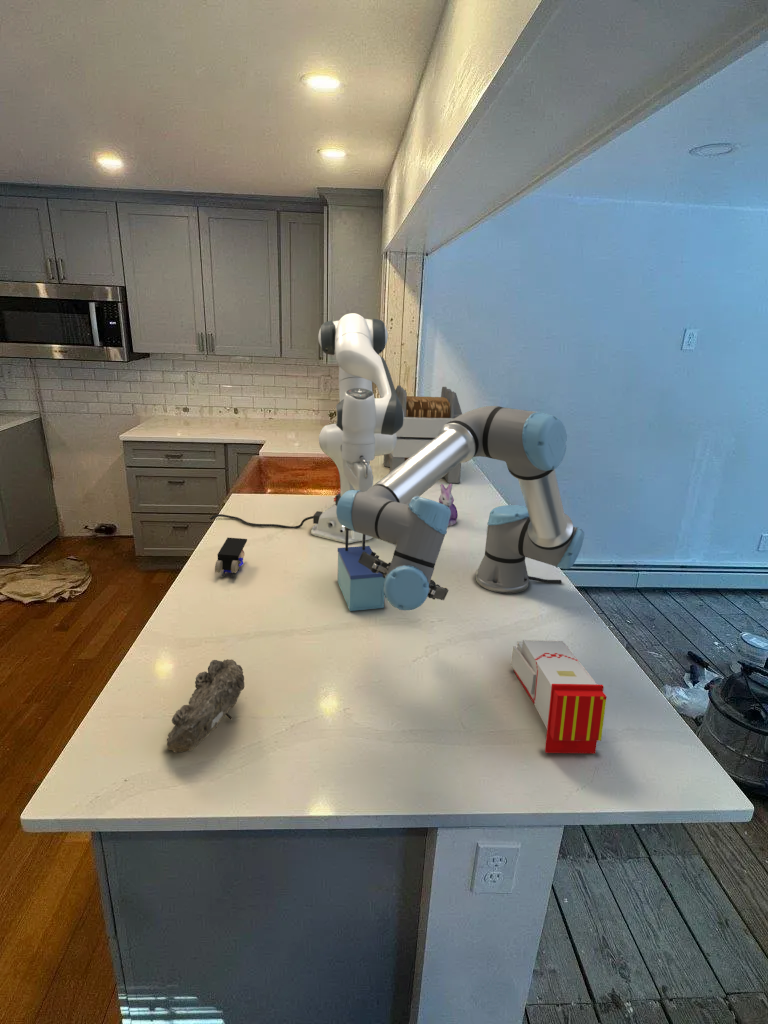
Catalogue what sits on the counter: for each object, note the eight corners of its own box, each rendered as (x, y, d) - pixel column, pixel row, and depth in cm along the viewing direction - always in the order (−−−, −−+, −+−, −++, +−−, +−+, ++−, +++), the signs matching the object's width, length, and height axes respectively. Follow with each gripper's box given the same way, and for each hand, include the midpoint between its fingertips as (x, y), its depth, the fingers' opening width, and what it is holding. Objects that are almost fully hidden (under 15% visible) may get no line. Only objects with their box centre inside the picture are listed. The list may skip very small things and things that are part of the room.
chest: (337, 581, 163) (338, 552, 160) (368, 579, 166) (369, 550, 163) (349, 611, 148) (350, 579, 145) (384, 607, 150) (385, 576, 147)
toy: (559, 623, 127) (616, 692, 98) (553, 678, 130) (607, 761, 101) (505, 622, 127) (547, 691, 98) (501, 677, 130) (540, 760, 100)
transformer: (382, 463, 289) (386, 382, 275) (445, 464, 293) (451, 384, 279) (390, 482, 257) (394, 392, 243) (460, 483, 261) (468, 394, 247)
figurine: (442, 528, 206) (446, 489, 201) (428, 519, 214) (431, 481, 209) (464, 525, 210) (468, 486, 205) (449, 516, 218) (452, 479, 213)
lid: (337, 551, 161) (337, 520, 158) (369, 549, 163) (370, 518, 160) (350, 579, 145) (351, 545, 142) (385, 576, 147) (387, 543, 144)
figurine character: (238, 584, 162) (249, 557, 175) (236, 562, 158) (247, 536, 172) (215, 584, 161) (227, 556, 175) (212, 561, 158) (225, 535, 171)
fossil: (192, 660, 117) (244, 628, 112) (224, 691, 120) (276, 661, 115) (142, 746, 98) (202, 712, 93) (182, 779, 101) (242, 748, 96)
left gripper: (379, 461, 142) (377, 513, 146) (361, 442, 160) (359, 489, 165) (354, 462, 140) (353, 514, 145) (339, 443, 158) (338, 490, 163)
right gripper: (337, 572, 109) (346, 565, 130) (456, 626, 108) (445, 610, 129) (353, 536, 109) (359, 535, 130) (472, 590, 108) (459, 580, 130)
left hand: (356, 501), depth 155 cm, fingers open, 8 cm apart
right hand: (402, 573), depth 130 cm, fingers open, 13 cm apart
